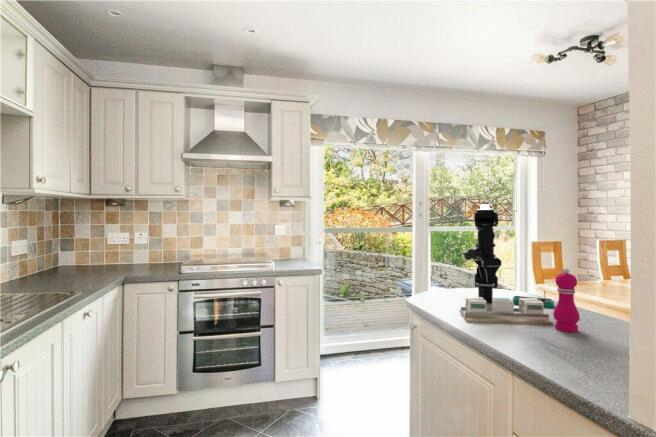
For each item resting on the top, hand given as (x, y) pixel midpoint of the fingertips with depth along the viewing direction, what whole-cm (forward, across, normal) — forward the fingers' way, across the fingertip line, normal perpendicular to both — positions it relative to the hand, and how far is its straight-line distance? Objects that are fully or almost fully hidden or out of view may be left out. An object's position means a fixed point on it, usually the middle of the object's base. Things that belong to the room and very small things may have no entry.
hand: (486, 280), depth 144 cm
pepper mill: (+12, +21, +19) cm, 31 cm away
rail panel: (+12, +9, +4) cm, 15 cm away
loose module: (+10, +9, +4) cm, 14 cm away
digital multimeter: (+13, -12, +21) cm, 28 cm away
